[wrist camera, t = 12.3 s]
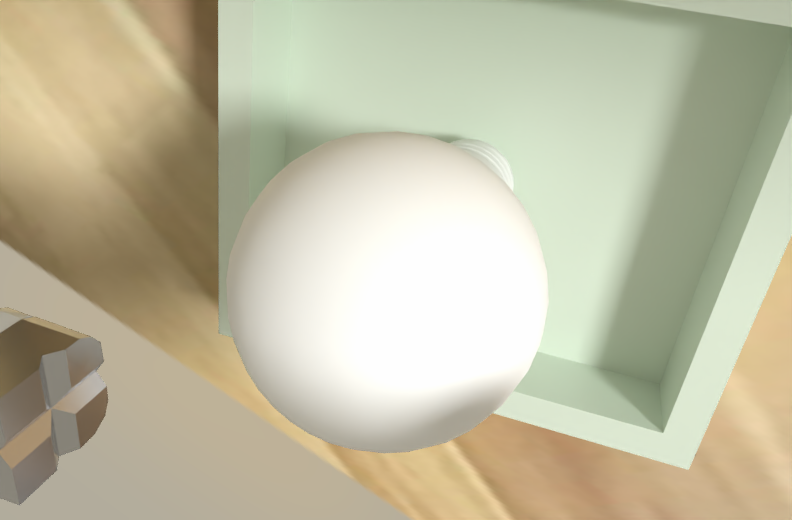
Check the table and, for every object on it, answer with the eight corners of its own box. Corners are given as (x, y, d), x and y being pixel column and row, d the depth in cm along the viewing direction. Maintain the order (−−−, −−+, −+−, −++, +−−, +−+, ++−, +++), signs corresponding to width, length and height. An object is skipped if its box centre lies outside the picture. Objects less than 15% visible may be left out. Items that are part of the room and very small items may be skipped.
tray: (855, -22, 16) (900, -12, 14) (681, 406, 22) (688, 469, 20) (273, -106, 19) (218, -110, 17) (260, 291, 25) (218, 333, 23)
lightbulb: (474, 304, 22) (340, 575, 12) (340, 165, 21) (97, 337, 12) (630, 183, 19) (611, 423, 9) (478, 18, 18) (297, 95, 9)
